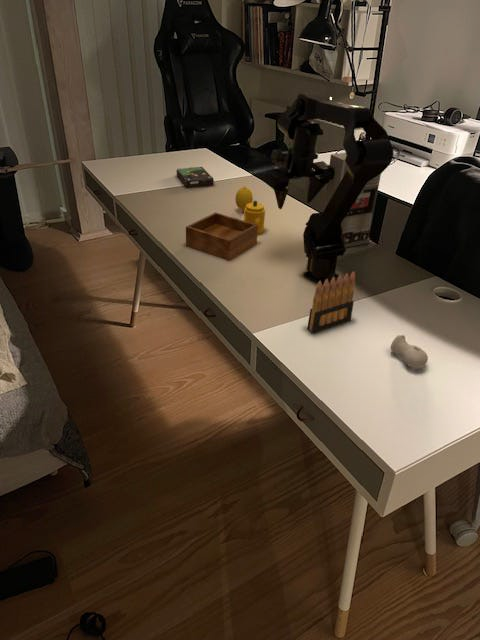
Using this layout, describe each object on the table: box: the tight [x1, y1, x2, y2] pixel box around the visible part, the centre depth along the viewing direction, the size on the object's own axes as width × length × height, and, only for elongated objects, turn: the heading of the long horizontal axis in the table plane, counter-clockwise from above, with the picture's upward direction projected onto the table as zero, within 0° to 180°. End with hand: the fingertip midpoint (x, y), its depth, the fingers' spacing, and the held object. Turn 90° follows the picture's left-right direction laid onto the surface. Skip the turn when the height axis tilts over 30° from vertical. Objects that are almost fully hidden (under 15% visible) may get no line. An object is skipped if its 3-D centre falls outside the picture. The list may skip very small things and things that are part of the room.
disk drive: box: [175, 166, 215, 188], centre depth 185 cm, size 10×3×15 cm
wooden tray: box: [185, 212, 258, 261], centre depth 139 cm, size 15×14×6 cm
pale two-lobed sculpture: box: [390, 334, 429, 370], centre depth 98 cm, size 4×8×5 cm
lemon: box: [235, 186, 254, 212], centre depth 160 cm, size 6×6×8 cm
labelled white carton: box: [322, 152, 382, 249], centre depth 137 cm, size 14×6×25 cm, turn 117°
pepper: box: [243, 200, 266, 235], centre depth 147 cm, size 6×6×9 cm
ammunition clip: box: [306, 270, 356, 334], centre depth 105 cm, size 11×2×12 cm, turn 121°
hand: (294, 205), depth 133 cm, fingers open, 9 cm apart
